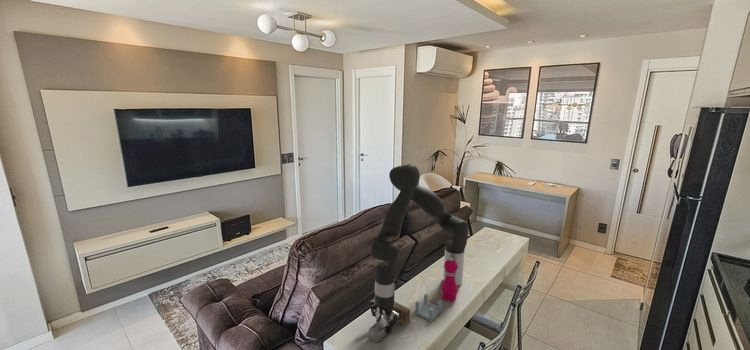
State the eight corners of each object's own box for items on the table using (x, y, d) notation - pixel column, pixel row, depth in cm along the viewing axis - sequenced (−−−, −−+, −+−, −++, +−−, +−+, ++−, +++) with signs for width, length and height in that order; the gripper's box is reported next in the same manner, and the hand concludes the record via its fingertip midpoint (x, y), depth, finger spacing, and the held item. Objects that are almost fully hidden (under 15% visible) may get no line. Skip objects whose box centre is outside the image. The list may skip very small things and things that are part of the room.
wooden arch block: (391, 312, 133) (391, 299, 132) (409, 322, 127) (410, 309, 126) (386, 315, 131) (387, 303, 130) (405, 326, 125) (406, 313, 124)
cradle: (425, 302, 140) (426, 292, 138) (441, 310, 134) (442, 300, 133) (414, 313, 133) (414, 302, 132) (430, 321, 128) (431, 310, 127)
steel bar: (393, 316, 131) (393, 307, 130) (401, 320, 128) (401, 311, 127) (368, 337, 119) (368, 328, 118) (377, 343, 116) (377, 333, 115)
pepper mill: (454, 292, 147) (457, 253, 143) (458, 302, 140) (462, 261, 136) (439, 292, 147) (441, 253, 142) (442, 302, 140) (445, 261, 135)
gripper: (364, 287, 120) (363, 326, 124) (393, 303, 111) (392, 344, 115) (376, 279, 126) (376, 316, 130) (405, 293, 117) (404, 333, 121)
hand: (383, 329), depth 122 cm, fingers closed on steel bar, 4 cm apart
